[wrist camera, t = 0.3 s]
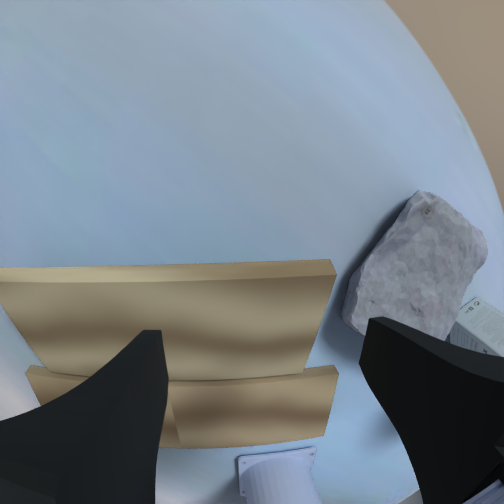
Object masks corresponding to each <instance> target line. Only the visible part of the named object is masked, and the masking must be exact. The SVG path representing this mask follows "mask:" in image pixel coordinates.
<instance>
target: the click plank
mask: <svg viewBox="0 0 504 504" xmlns="http://www.w3.org/2000/svg"><path fill="white" fill-rule="evenodd" d="M336 276H337V274H336V271H335V269H334V267H333V265H332V263H331V260H330V259H321V260H296V261H268V262H239V263H208V264H174V265H135V266H91V267H34V268H0V303H1V305H2V307H3V308H4V310H5V311H6V313H7V314H8V316H9V317H10V319H11V320H12V322H13V323H14V325H15V326H16V328H17V329H18V331H19V332H20V333H21V335H22V336H23V338H24V339H25V340H26V342H27V343H28V344H29V346H30V347H31V348H32V350H33V351H34V352H35V354H36V355H37V356H38V357H39V359H40V360H41V361H42V363H43V364H44V365H45V366H46V367H47V369H48V370H49V371H50V372H56V373H63V374H72V375H81V376H92V375H93V374H94V373H96V372H97V371H98V370H99V369H100V368H102V367H103V366H104V365H105V364H107V363H108V362H109V361H110V360H111V359H112V358H114V357H115V356H116V355H117V354H118V353H119V352H120V351H121V350H122V349H123V348H124V347H126V346H127V345H128V344H129V343H130V342H131V341H132V340H133V339H134V338H135V337H136V336H137V335H138V334H139V333H140V332H141V331H143V330H161V332H162V339H163V346H164V352H165V358H166V365H167V371H168V376H169V380H222V379H241V378H255V377H267V376H278V375H288V374H297V373H303V370H304V368H305V365H306V362H307V360H308V357H309V355H310V352H311V349H312V347H313V344H314V341H315V338H316V336H317V333H318V330H319V327H320V324H321V321H322V318H323V316H324V313H325V310H326V307H327V304H328V301H329V298H330V295H331V292H332V288H333V285H334V282H335V279H336Z"/></svg>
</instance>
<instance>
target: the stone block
mask: <svg viewBox="0 0 504 504" xmlns="http://www.w3.org/2000/svg"><path fill="white" fill-rule="evenodd" d="M487 255H488V248H487V242H486V239H485V236H484V234H483V232H482V231H481V230H479V229H478V228H476V227H474V226H473V225H472V224H471V223H470V222H469V221H468V220H467V219H466V218H465V217H464V216H463V215H462V214H461V213H460V212H458V211H457V210H456V209H454V208H453V207H452V206H451V205H450V204H449V203H448V202H447V201H446V200H444V199H442V198H440V197H439V196H437V195H435V194H433V193H430V192H422V191H417V192H415V194H414V195H413V196H412V197H411V198H410V199H409V200H408V201H407V203H406V206H405V208H404V209H403V210H402V211H401V213H400V214H399V216H398V218H397V219H396V221H395V223H394V224H393V225H392V226H391V227H390V228H389V229H388V230H387V232H386V233H385V234H384V235H383V237H382V238H381V239H380V240H379V241H378V242H377V243H376V245H375V246H374V248H373V249H372V251H371V252H370V253H369V254H368V255H367V256H366V258H365V259H364V260H363V262H362V263H361V265H360V266H359V267H358V268H357V269H356V270H355V271H354V272H353V274H352V275H351V277H350V278H349V284H348V288H347V292H346V295H345V300H344V304H343V307H342V311H341V317H342V319H343V321H344V323H345V324H346V325H348V326H349V327H350V328H352V329H353V330H355V331H356V332H358V333H359V334H361V335H362V336H365V335H366V330H367V325H368V320H369V318H374V317H382V316H383V317H387V318H390V319H393V320H395V321H398V322H400V323H403V324H405V325H407V326H410V327H412V328H414V329H417V330H419V331H421V332H424V333H426V334H428V335H431V336H433V337H435V338H438V339H440V340H443V341H445V339H446V337H447V335H448V334H449V333H450V330H451V328H452V326H453V324H454V323H455V320H456V318H457V317H458V314H459V311H460V307H461V303H462V299H463V296H464V293H465V291H466V289H467V286H468V285H469V284H470V283H471V281H472V279H473V276H474V274H475V273H476V271H477V270H478V269H479V268H480V267H481V266H482V265H483V264H484V263H485V261H486V258H487Z"/></svg>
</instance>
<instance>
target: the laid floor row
mask: <svg viewBox="0 0 504 504" xmlns="http://www.w3.org/2000/svg"><path fill="white" fill-rule="evenodd" d="M25 374H26V376H27V378H28V380H29V382H30V385H31V387H32V389H33V391H34V393H35V395H36V397H37V399H38V401H39V403H40V405H41V406H42V405H44V404H46V403H48V402H50V401H52V400H54V399H56V398H58V397H59V396H61V395H63V394H65V393H67V392H68V391H70V390H71V389H73V388H75V387H76V386H78V385H79V384H81V383H82V382H84V381H85V380H86V379H88V378H89V377H91V376H81V375H72V374H63V373H56V372H50V371H49V370H48V369H47V368H45V367H38V366H32V365H31V366H30V367H29V369H28V370H27V371H26V373H25ZM338 375H339V373H338V371H337V369H336V368H335V366H334V365H329V366H322V367H314V368H307V369H304V370H303V373H297V374H288V375H278V376H267V377H255V378H241V379H222V380H169V383H168V398H167V406H166V411H165V417H164V422H163V427H162V432H161V437H160V443H159V448H187V449H197V448H229V447H245V446H256V445H266V444H275V443H283V442H290V441H297V440H303V439H309V438H315V437H320V436H324V434H325V430H326V426H327V422H328V418H329V414H330V410H331V406H332V402H333V398H334V394H335V389H336V385H337V380H338Z"/></svg>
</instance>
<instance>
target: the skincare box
mask: <svg viewBox="0 0 504 504" xmlns="http://www.w3.org/2000/svg"><path fill="white" fill-rule="evenodd" d="M450 343H451V344H454V345H456V346H459V347H463V348H466V349H469V350H473V351H477V352H480V353H485V354H489V355H495V356H501V357H504V313H503V312H501V311H500V310H498V309H497V308H495V307H494V306H492V305H490V304H489V303H487V302H486V301H484V300H482V299H481V298H479V297H476V298H474V299H473V300H471V301H470V302H469V303H467V304H466V305H465V306H463V307H462V308H461V309H460V311H459V314H458V317H457V318H456V320H455V323H454V324H453V326H452V328H451V330H450Z"/></svg>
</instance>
